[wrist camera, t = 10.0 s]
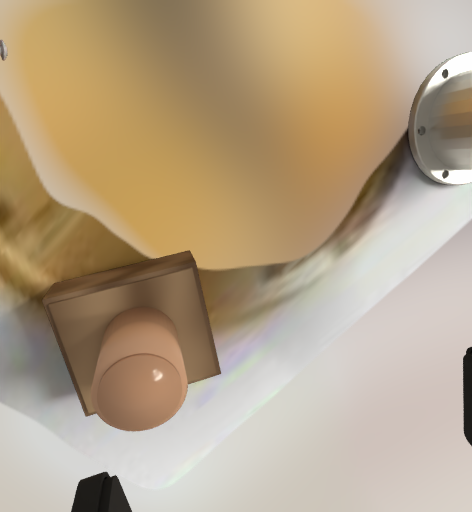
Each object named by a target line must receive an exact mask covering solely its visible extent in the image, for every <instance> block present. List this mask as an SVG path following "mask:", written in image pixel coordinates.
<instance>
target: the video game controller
mask: <svg viewBox="0 0 472 512" xmlns="http://www.w3.org/2000/svg"><path fill="white" fill-rule="evenodd" d="M0 55H1V57H2V60H5V59H6V56H7V47H6V45H5V43H4V42H3V40H0Z"/></svg>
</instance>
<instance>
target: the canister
mask: <svg viewBox="0 0 472 512" xmlns="http://www.w3.org/2000/svg"><path fill="white" fill-rule="evenodd" d="M187 388H188V382H187V376H186V371H185V366H184V362H183V357H182V352H181V348H180V343H179V338H178V334H177V330H176V327H175V325H174V323H173V322H172V320H171V319H170V318H169V317H168V316H167V315H166V314H164V313H163V312H161V311H159V310H157V309H154V308H149V307H137V308H132V309H128V310H126V311H124V312H122V313H120V314H119V315H117V316H116V317H115V318H114V319H113V320H112V321H111V322H110V323H109V325H108V326H107V328H106V330H105V333H104V337H103V341H102V345H101V349H100V353H99V357H98V362H97V366H96V370H95V374H94V378H93V383H92V387H91V401H92V405H93V407H94V409H95V411H96V413H97V414H98V416H99V417H100V418H101V419H102V420H103V421H104V422H106V423H107V424H109V425H110V426H112V427H115V428H117V429H120V430H125V431H143V430H148V429H152V428H154V427H157V426H159V425H161V424H163V423H165V422H166V421H168V420H169V419H170V418H171V417H173V416H174V415H175V414H176V413H177V411H178V410H179V409H180V407H181V406H182V404H183V402H184V400H185V397H186V394H187Z"/></svg>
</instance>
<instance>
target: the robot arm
mask: <svg viewBox="0 0 472 512" xmlns="http://www.w3.org/2000/svg"><path fill="white" fill-rule="evenodd" d="M408 137H409V143H410V149H411V152H412V154H413V157H414V160H415V161H416V163H417V165H418V167H419V168H420V169H421V170H422V171H423V173H424V174H425V175H426V176H428V177H429V178H431V179H432V180H434V181H436V182H439V183H442V184H450V185H463V184H467V183H471V182H472V52H467V53H464V54H460V55H457V56H454V57H452V58H449V59H447V60H445V61H444V62H442V63H441V64H439V65H438V66H437V67H436V68H435V69H434V70H433V71H432V72H431V73H430V74H429V75H428V76H427V77H426V79H425V80H424V82H423V83H422V84H421V86H420V88H419V90H418V92H417V94H416V96H415V98H414V102H413V104H412V107H411V111H410V118H409V124H408ZM463 393H464V394H463V395H464V396H463V398H464V434H465V437H466V439H467V440H468V442H469V443H470V445H471V446H472V347H470V348H468V349H467V351H466V355H465V356H464V358H463ZM71 512H132V510H131V508H130V506H129V503H128V501H127V499H126V496H125V494H124V491H123V489H122V486H121V484H120V482H119V479H118V477H117V476H116V475H115V476H112V477H110V476H109V474H108V473H107V472H103V473H100V474H97V475H94V476H91V477H88V478H85V479H82V480H80V482H79V484H78V486H77V490H76V494H75V498H74V503H73V506H72V511H71Z"/></svg>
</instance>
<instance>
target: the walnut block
mask: <svg viewBox="0 0 472 512" xmlns="http://www.w3.org/2000/svg"><path fill="white" fill-rule="evenodd" d="M42 302H43V305H44V307H45V310H46V313H47V315H48V318H49V321H50V323H51V326H52V329H53V331H54V334H55V336H56V339H57V342H58V344H59V347H60V350H61V352H62V355H63V358H64V360H65V363H66V366H67V368H68V371H69V374H70V376H71V379H72V381H73V384H74V387H75V389H76V392H77V395H78V397H79V400H80V403H81V405H82V408H83V411H84V413H85V416H86V417H87V416H90V415H93V414H96V411H95V409H94V407H93V405H92V401H91V387H92V383H93V378H94V374H95V370H96V366H97V362H98V357H99V353H100V349H101V345H102V341H103V337H104V333H105V330H106V328H107V326H108V325H109V323H110V322H111V321H112V320H113V319H114V318H115V317H116V316H117V315H119V314H120V313H122V312H124V311H126V310H128V309H132V308H137V307H149V308H154V309H157V310H159V311H161V312H163V313H164V314H166V315H167V316H168V317H169V318H170V319H171V320H172V322H173V323H174V325H175V327H176V330H177V334H178V338H179V343H180V348H181V352H182V357H183V362H184V366H185V371H186V376H187V382H188V384H191V383H194V382H197V381H200V380H203V379H207V378H210V377H213V376H216V375H219V374H221V371H220V367H219V362H218V358H217V353H216V349H215V345H214V340H213V336H212V331H211V327H210V323H209V318H208V314H207V309H206V305H205V301H204V296H203V292H202V287H201V283H200V279H199V274H198V270H197V265H196V262H195V260H194V258H193V256H192V254H191V252H190V251H185V252H181V253H177V254H173V255H169V256H165V257H161V258H156V259H152V260H148V261H144V262H140V263H136V264H132V265H128V266H123V267H119V268H115V269H111V270H107V271H103V272H99V273H95V274H91V275H87V276H82V277H78V278H74V279H70V280H66V281H62V282H58V283H54V284H53V286H52V287H51V288H50V290H49V291H48V292H47V294H46V295H45V296H44V298H43V299H42Z"/></svg>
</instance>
